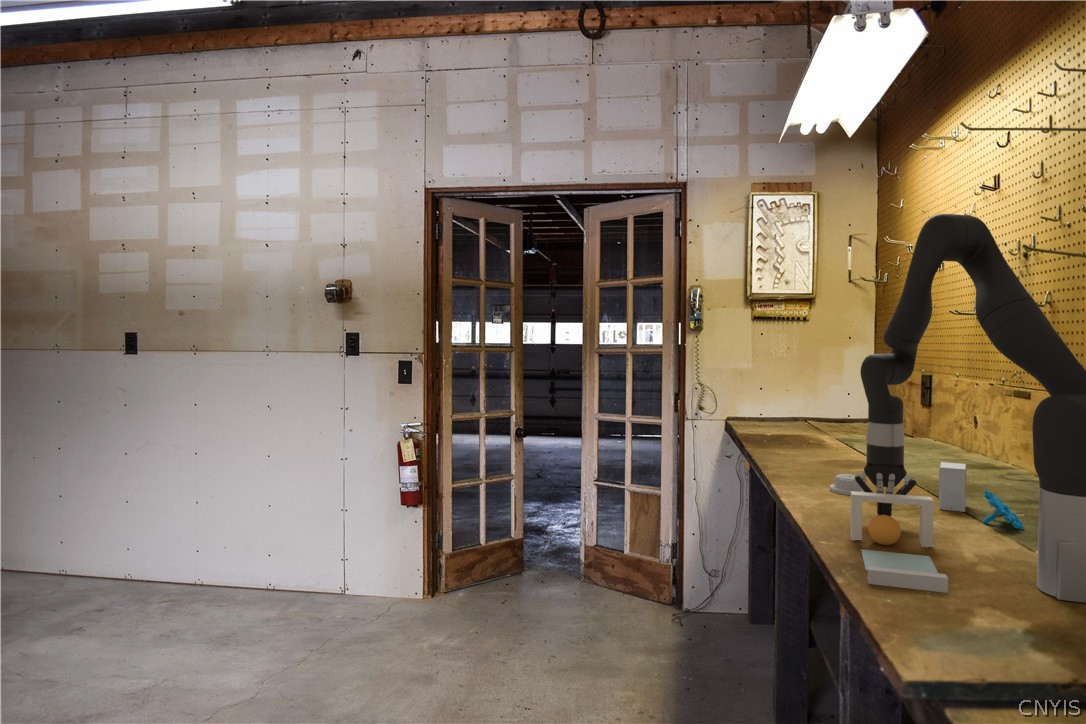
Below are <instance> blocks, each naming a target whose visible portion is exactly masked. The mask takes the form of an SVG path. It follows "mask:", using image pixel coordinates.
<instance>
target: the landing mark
mask: <svg viewBox="0 0 1086 724" xmlns="http://www.w3.org/2000/svg"><path fill="white" fill-rule="evenodd" d="M860 551H862V552H861V555H862V560H863V563H864V569H865V571H867V572H868V566H873V567H882V568H891V569H901V570H910V571H920V572H929V573H938V574H939V572H938V570H937V568H936V566H935V564H934V562H933V560H932V559H931V556H929V555H921V554H911V553H900V552H890V551H882V550H872V549H871V550H870V549H860Z"/></svg>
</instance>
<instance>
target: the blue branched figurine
mask: <svg viewBox="0 0 1086 724" xmlns="http://www.w3.org/2000/svg"><path fill="white" fill-rule="evenodd" d="M983 496H984V498H985V499H986V500H987V502H988V503H989V505H990V506H991V507H994V510H993V513H992V514H990V515H988V516H987V517H985V518H984V519H983V520H982V523H983V524H985V525H988V524H989V523H991V522H992V521H994V520H996V519H997V518H1001V517H1003V519H1004V520H1005V521H1006V522H1007V523H1009V524H1010V523H1011V525H1012V527H1014V528H1015V529H1018V530H1022V529H1023V528H1025V527H1024V525H1023V522H1022V521H1021V520H1020V519H1019V517H1018V515H1017V514H1016V513H1015V512H1013V510H1012V509H1011V508H1010V505H1009V504H1008V503H1003V500H1002V499H1001V498H1000V497H996V495H995V494H994V493H993V492H992V491H989V490H987V489H986V490H984V491H983ZM993 519H994V520H993Z"/></svg>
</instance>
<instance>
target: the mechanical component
mask: <svg viewBox="0 0 1086 724" xmlns="http://www.w3.org/2000/svg"><path fill="white" fill-rule="evenodd" d="M855 475H856V474H849V473H840V474H835V476H834V483H831V484H830V485H829V491H830V492H832V493H834V494H837V495H838V494H839V495H845V496H851V491H854V492H864V490H863V489H862V488H861V487H860V486H859V484H858V483H857V482H856V481H855V478H854V476H855Z"/></svg>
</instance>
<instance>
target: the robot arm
mask: <svg viewBox="0 0 1086 724" xmlns="http://www.w3.org/2000/svg"><path fill="white" fill-rule="evenodd" d="M913 249H914V250H913V253H912V256H911V260H910V263H909V267H908V271H907V274H906V279H905V281H904V282H905V283H904V285H903V288H902V292H901V295H900V298H899V301H898V303H897V305H896V308H895V310H894V312H893V314H892V317H891V318H890V320H889V323H888V325H887V327H886V329H885V331H884V332H883V333H884V334H883V342H884V344H885V345H886V346H888V347H889V348H891V351H890V353H872V354H869V355H867V356H866V357H865V358H864V359H863V361H862V363H861V365H860V379H861V383H862V386H863V390H864V395H865V397H866V401H867V404H868V406H867V407H868V409H867V411H868V412H867V416H868V417H867V421H868V422H867V428H866V437H865V440H866V463H865V464H866V465H865V466H864V468H863V471H862V472H861V473H859V474H854V475H855V476H854V478H855V481H856V482H857V483H858V484H859V486H860V487H861V488H862V489H863V490H864V492H868V493H874V491H873V490H872V489H871V487H870V486H869V485H868V484H867V481H868V480H867V478H868V479H869V481H870V482H871V483H872V485H873V486H874V487H875V489H876V490H875V491H876V493H882V494H884V488H885V494H894V491H895V488H896V487H897V486H898V485H899V484H900V483H901V481H902V483H903V485H902V486H901V487H900V488H899V489H898V490H897V491H896V492H895V494H896V495H908V493H910V491H912V489H913V488H914V487H915V486H916V485H917V481H916V479H915V478H914V477H911V476H910V475H908V474H907V470H906V469H905V429H904V403H903V402H904V401H903V400H902V398H901V397H900V396H899V397H898V396H896V395H891V392H890V390H889V386H892V385H894V386H896V385H902V384H904V383H906V381H908V380H909V378H911V376H912V374H913V373H914V370H915V363H916V359H917V354H918V346H919V343H920V342H921V340H922V338H923V337H924V334H925V332H926V330H927V329H928V326H929V324H930V321H931V318H932V316H933V315H932V314H933V298H932V297H933V295H932V286H933V281H934V278H935V276H936V273H937V272H938V270H939V269H940V267H941V265H942V264H943V263H944V262H954V263H955V262H956V263H958V264H959V265H960V266H961V267H962V268H963V269H964V270H965V272H966V274H967V275H968V276H969V278H970V279H971V281H972V283H973V285H974V287H975V301H974V303H975V304H974V305H975V306H974V310H975V315H976V319H977V321H978V324H979V326H980V327H981V328H982V330H983V332H984V333H985V335H986V336H987V338H988V339H989V341H990V342H991V344H992V345H993V346H994V347H995V349H996V350H998V352H999V353H1000V354H1001V355H1003V356H1004V357H1005V358H1007V360H1009V361H1011V362H1012V363H1014V365H1016V366H1018V367H1019V368H1021V369H1022V370H1023V371H1025V372H1026V373H1027V374H1028V375H1030V376H1031V377H1033V378H1034V379H1035V380H1036V381H1037V382H1039V383H1040V385H1041V386H1042V387H1043V388H1044V389H1045V391H1046V392H1047V393H1048V394H1049V396H1047V397H1045V398H1044V399H1042V400H1040V402H1039V403H1038V405H1037V406H1036V408H1035V409H1034V412H1033V417H1032V426H1031V427H1032V431H1031V432H1032V453H1033V457H1032V458H1033V465H1034V466H1033V467H1034V470H1035V472H1036V475H1037V476H1038V480H1039V481H1038V483H1039V484H1038V485H1039V488H1038V516H1037V517H1038V521H1037V522H1038V523H1037V524H1038V525H1037V560H1036V561H1037V569H1036V571H1037V572H1036V573H1037V575H1036V576H1037V577H1036V578H1037V579H1036V587H1037V588H1038V590H1040V591H1041V592H1043V593H1045V594H1047V595H1049V596H1052V597H1055V598H1056V599H1057V600H1058V601H1068V602H1076V603H1085V604H1086V368H1085V367H1083V365H1082V364H1081V363H1080V362H1079V361H1078V359H1077V358H1076V356H1075V355H1074V354H1073V352H1072V351H1071V349H1070V348H1069V347H1068V345H1067V344H1066V343H1065V341H1064V339H1062V338H1061V336H1060V334H1058V332H1057V331H1056V330H1055V328H1054V327H1053V325H1052V324H1051V322H1050V320H1049V319H1048V317H1047V315H1046V314H1045V313H1044V311H1043V310H1042V309H1041V307H1040V306H1039V304H1037V302H1036V301H1035V299H1034V298H1033V297H1032V296H1031V295H1030V293H1029V292H1028V291H1027V289H1026V288H1025V287H1024V285H1023V284H1022V281H1020V279H1019V278H1018V275H1016V273H1015V272H1014V270H1013V269H1012V268H1011V266H1010V265H1009V263H1008V261H1007V260H1006V259H1005V257H1004V255H1003V253H1002V251H1001V249H1000V248H999V246H998V243H997V242H996V240H995V238H994V236H993V234H992V232H991V231H990V229H989V227H988V226H987V225H986V223H985V222H984V221H982V219H980V218H978V217H976V216H973V215H969V214H968V215H967V214H953V213H939V214H935V215H932V216H930V217H929V218H928V219H927V220H926V221H925V222H924V224H923V226H922V227H921V229H920V231H919V234H918V236H917V239H916V242H915V244H914V248H913ZM866 477H867V478H866ZM892 505H893V503H882V502H876V513H877V516H878V515H887V516H890V517H892V514H893V513H892V512H893V511H892V509H893V508H892Z"/></svg>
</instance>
